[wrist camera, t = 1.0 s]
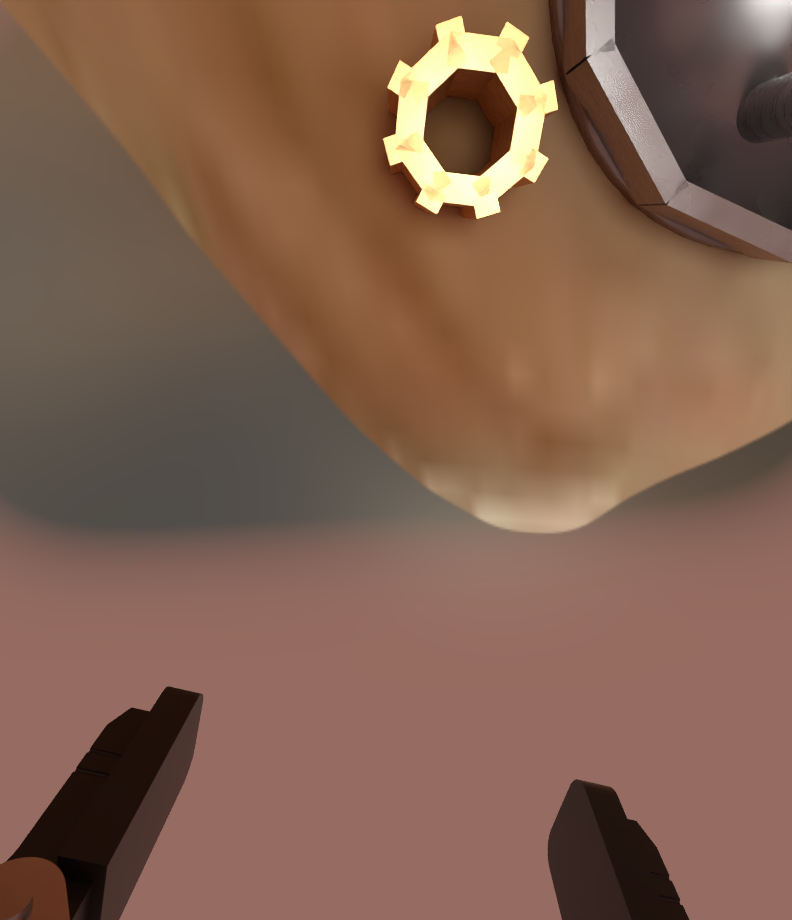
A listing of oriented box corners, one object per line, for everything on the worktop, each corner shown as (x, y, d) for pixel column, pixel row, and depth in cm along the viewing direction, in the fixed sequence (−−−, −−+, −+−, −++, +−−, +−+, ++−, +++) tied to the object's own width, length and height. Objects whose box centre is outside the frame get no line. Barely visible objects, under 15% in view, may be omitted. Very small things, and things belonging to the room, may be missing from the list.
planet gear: (358, 129, 24) (349, 109, 19) (471, 20, 22) (491, -30, 18) (441, 244, 26) (452, 251, 21) (551, 152, 24) (587, 138, 20)
